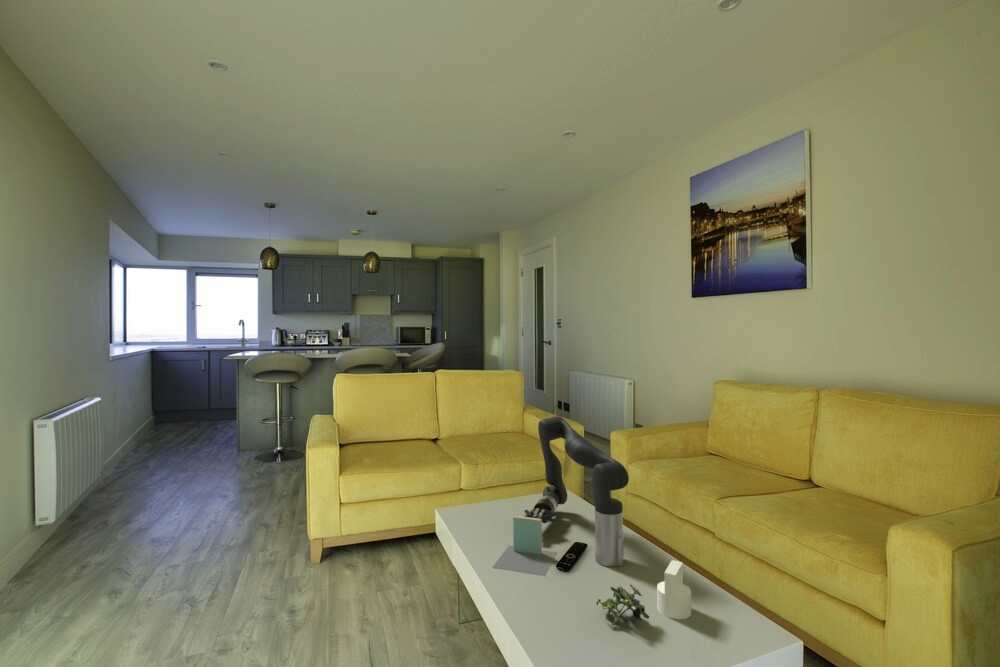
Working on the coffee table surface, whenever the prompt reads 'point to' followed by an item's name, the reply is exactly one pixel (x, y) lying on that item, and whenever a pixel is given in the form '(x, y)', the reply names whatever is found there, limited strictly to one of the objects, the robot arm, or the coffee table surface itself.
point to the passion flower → (627, 600)
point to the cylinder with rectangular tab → (674, 593)
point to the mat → (525, 561)
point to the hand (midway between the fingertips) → (533, 523)
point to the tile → (527, 535)
